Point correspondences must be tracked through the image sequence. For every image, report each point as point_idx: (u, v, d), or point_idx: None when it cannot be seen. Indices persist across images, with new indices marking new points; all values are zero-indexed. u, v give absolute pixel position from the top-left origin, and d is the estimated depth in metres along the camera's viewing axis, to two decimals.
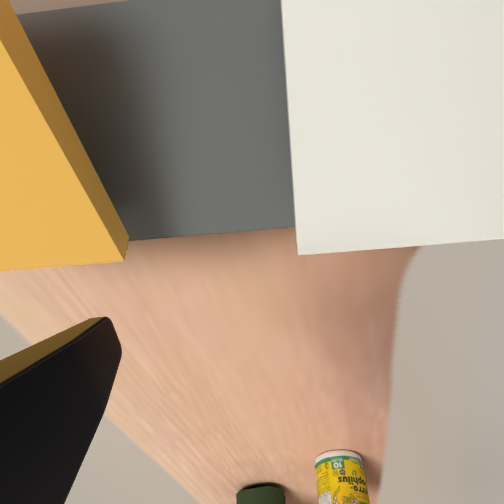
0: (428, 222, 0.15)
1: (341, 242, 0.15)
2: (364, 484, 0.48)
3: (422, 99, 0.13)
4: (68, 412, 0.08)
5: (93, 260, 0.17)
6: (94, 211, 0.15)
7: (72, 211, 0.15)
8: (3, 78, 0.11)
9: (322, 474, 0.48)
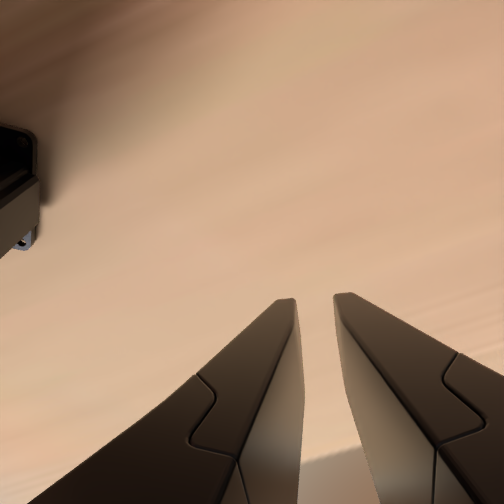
0: None
1: None
2: None
3: None
4: (295, 396, 0.07)
5: None
6: None
7: None
8: None
9: None
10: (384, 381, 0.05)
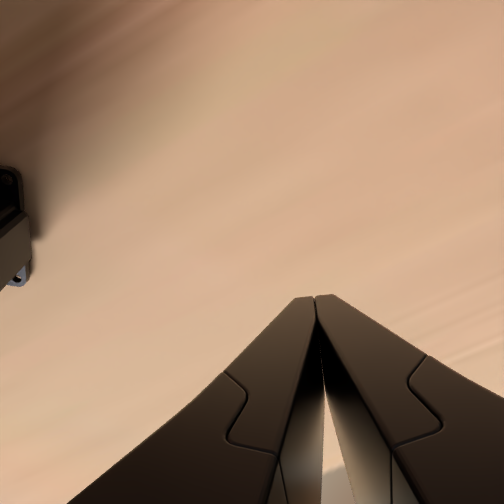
0: None
1: None
2: None
3: None
4: (318, 394, 0.07)
5: None
6: None
7: None
8: None
9: None
10: (351, 383, 0.05)
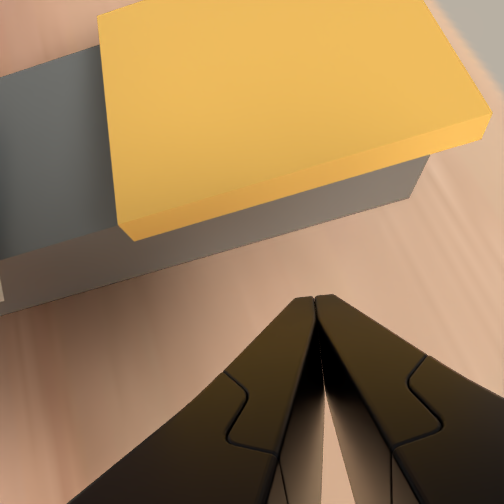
0: None
1: None
2: None
3: None
4: (318, 394, 0.07)
5: (123, 10, 0.18)
6: (102, 62, 0.17)
7: (121, 57, 0.17)
8: (124, 158, 0.15)
9: None
10: (351, 383, 0.05)
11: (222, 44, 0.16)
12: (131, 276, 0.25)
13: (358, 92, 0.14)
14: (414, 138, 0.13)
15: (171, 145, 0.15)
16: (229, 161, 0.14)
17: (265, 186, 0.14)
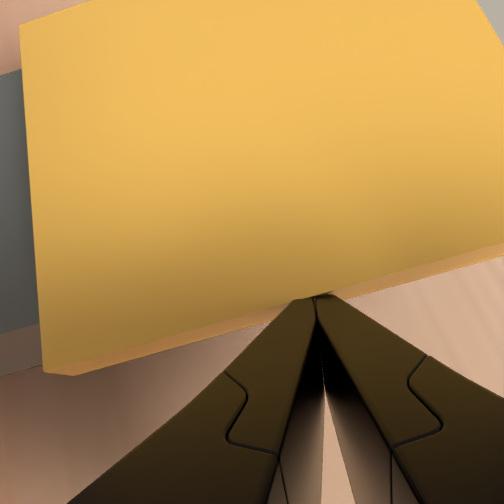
0: None
1: None
2: None
3: None
4: (318, 394, 0.07)
5: (55, 17, 0.13)
6: (25, 99, 0.12)
7: (51, 93, 0.12)
8: (54, 259, 0.10)
9: None
10: (351, 384, 0.05)
11: (194, 78, 0.11)
12: None
13: (395, 168, 0.09)
14: (482, 249, 0.09)
15: (121, 241, 0.10)
16: (206, 274, 0.09)
17: (259, 314, 0.09)
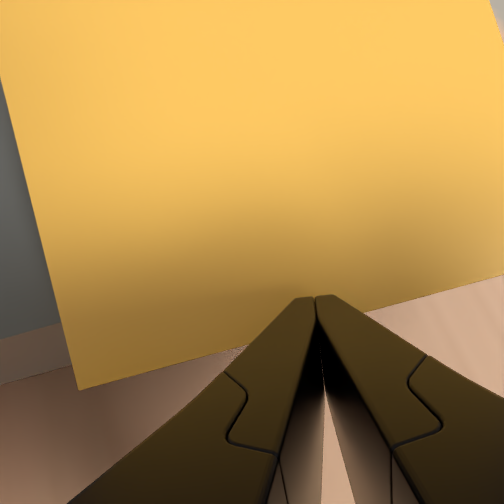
0: None
1: None
2: None
3: None
4: (318, 394, 0.07)
5: None
6: (8, 100, 0.11)
7: (36, 94, 0.11)
8: (71, 285, 0.11)
9: None
10: (352, 384, 0.05)
11: (194, 86, 0.11)
12: None
13: (397, 201, 0.10)
14: (467, 283, 0.10)
15: (136, 269, 0.10)
16: (221, 303, 0.10)
17: None
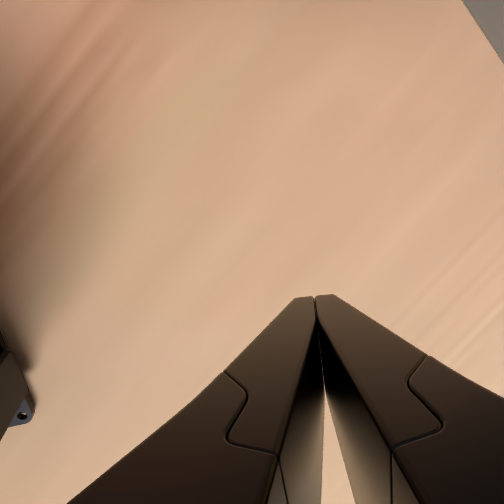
0: None
1: None
2: None
3: None
4: (318, 394, 0.07)
5: None
6: None
7: None
8: None
9: None
10: (352, 383, 0.05)
11: None
12: None
13: None
14: None
15: None
16: None
17: None
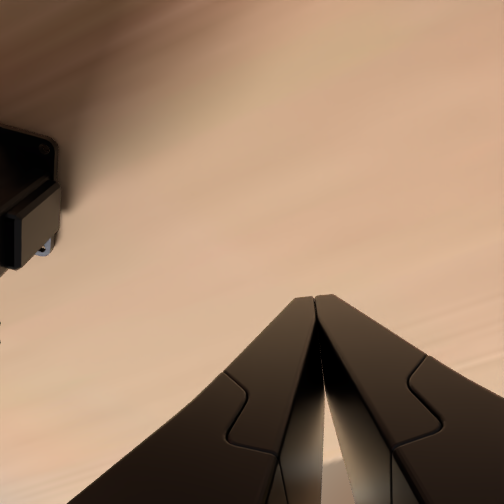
0: None
1: None
2: None
3: None
4: (318, 394, 0.07)
5: None
6: None
7: None
8: None
9: None
10: (352, 383, 0.05)
11: None
12: None
13: None
14: None
15: None
16: None
17: None
